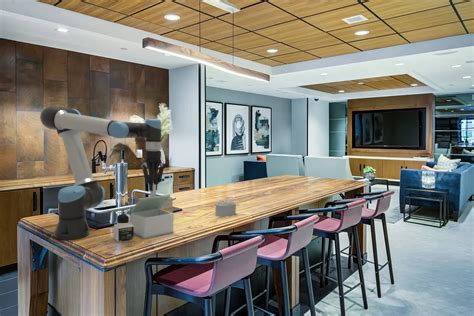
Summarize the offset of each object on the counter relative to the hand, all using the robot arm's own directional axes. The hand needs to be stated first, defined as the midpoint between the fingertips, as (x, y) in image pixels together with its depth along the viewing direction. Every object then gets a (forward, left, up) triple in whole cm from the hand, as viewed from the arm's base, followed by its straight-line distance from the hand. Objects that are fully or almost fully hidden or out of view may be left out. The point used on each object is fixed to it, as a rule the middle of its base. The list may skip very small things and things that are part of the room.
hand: (153, 197), depth 170 cm
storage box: (0, +1, -18) cm, 18 cm away
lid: (0, +2, -4) cm, 5 cm away
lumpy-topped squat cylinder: (+54, +7, -19) cm, 57 cm away
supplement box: (+18, +19, -19) cm, 32 cm away
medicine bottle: (-16, -1, -19) cm, 25 cm away
